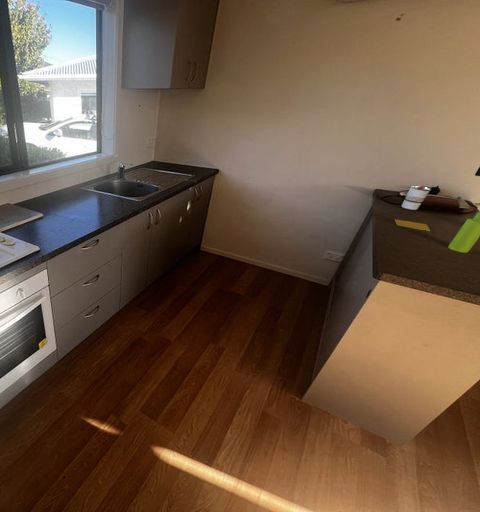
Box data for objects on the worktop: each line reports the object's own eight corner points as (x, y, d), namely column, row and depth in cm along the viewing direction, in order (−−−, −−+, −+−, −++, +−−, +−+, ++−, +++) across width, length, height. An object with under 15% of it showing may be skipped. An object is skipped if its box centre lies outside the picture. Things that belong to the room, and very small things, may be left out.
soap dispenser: (442, 244, 127) (472, 200, 117) (464, 248, 124) (497, 204, 114) (447, 249, 123) (479, 204, 113) (470, 254, 120) (505, 208, 110)
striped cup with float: (423, 211, 164) (436, 190, 158) (406, 209, 166) (418, 189, 160) (411, 205, 173) (423, 185, 167) (395, 204, 174) (406, 184, 168)
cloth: (426, 224, 147) (426, 224, 147) (430, 231, 140) (430, 230, 140) (394, 219, 153) (394, 219, 153) (396, 225, 146) (397, 225, 146)
